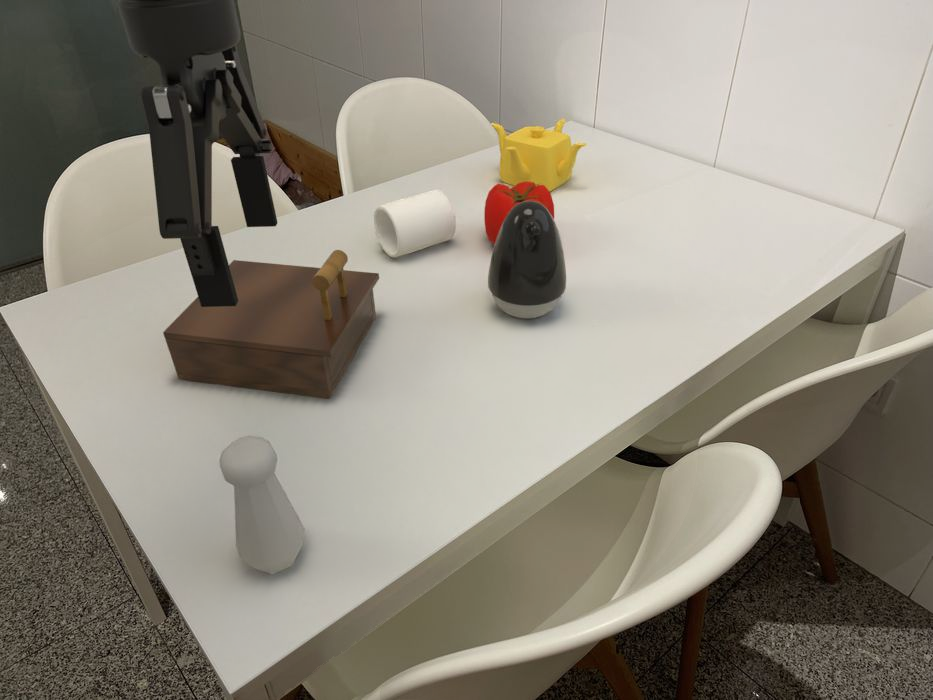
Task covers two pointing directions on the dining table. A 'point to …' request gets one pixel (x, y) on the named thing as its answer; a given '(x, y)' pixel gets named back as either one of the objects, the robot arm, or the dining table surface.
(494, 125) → the teapot
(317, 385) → the wooden box
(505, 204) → the tomato
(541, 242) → the black tumbler egg
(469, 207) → the dining table surface
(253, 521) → the salt shaker
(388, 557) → the dining table surface
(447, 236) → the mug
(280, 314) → the lid
